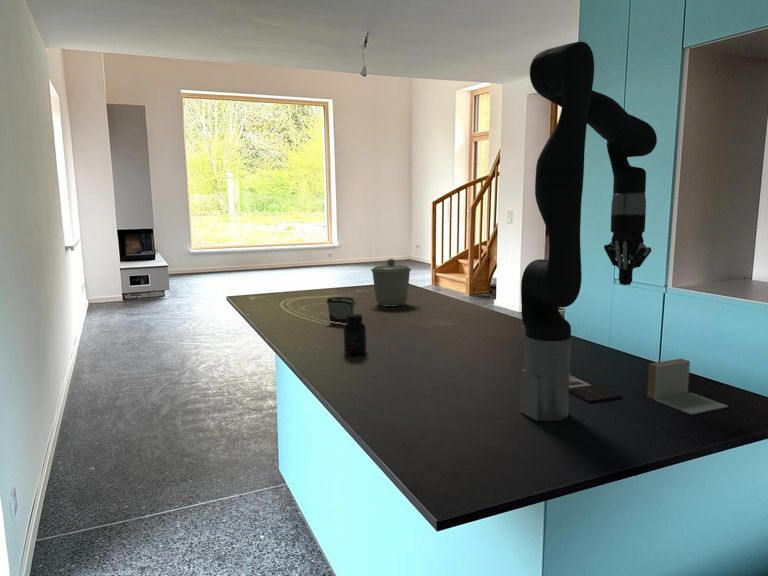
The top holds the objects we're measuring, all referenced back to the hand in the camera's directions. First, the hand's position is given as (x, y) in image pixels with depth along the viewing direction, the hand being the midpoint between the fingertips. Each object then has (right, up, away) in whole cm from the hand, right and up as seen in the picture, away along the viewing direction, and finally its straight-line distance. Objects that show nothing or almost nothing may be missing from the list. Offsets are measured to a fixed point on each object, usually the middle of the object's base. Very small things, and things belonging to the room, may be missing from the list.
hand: (625, 284), depth 134 cm
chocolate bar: (-11, -26, +1) cm, 28 cm away
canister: (-55, -9, +116) cm, 129 cm away
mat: (+10, -27, -11) cm, 31 cm away
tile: (+8, -26, -5) cm, 28 cm away
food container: (-74, -15, +80) cm, 110 cm away
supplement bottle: (-67, -21, +36) cm, 80 cm away
